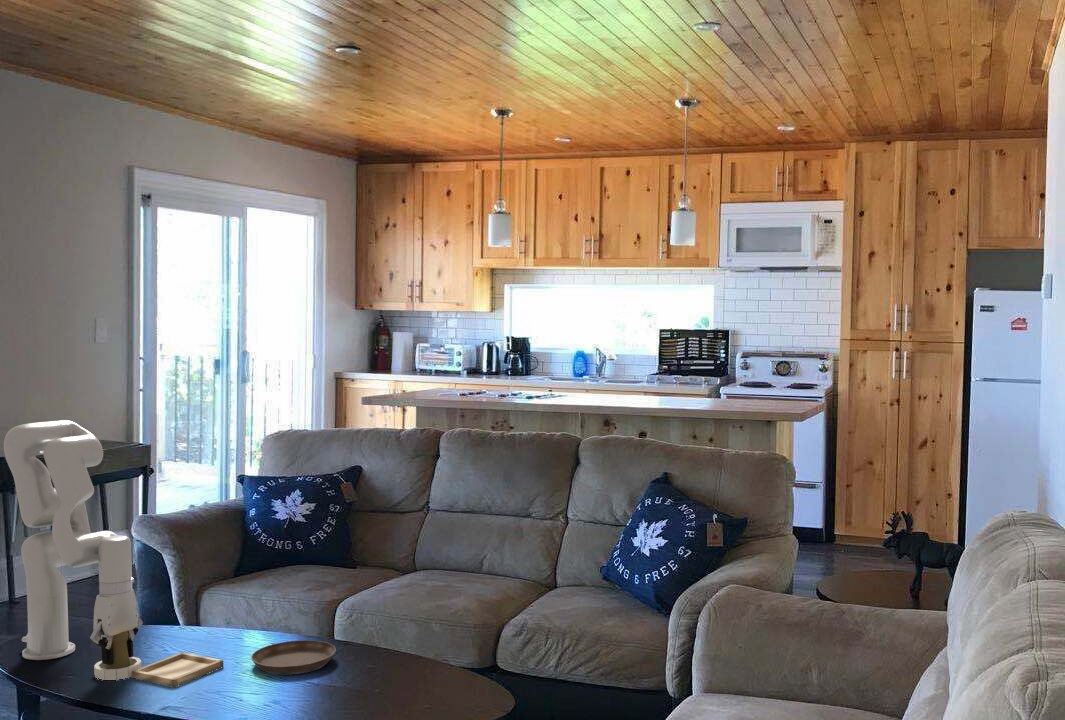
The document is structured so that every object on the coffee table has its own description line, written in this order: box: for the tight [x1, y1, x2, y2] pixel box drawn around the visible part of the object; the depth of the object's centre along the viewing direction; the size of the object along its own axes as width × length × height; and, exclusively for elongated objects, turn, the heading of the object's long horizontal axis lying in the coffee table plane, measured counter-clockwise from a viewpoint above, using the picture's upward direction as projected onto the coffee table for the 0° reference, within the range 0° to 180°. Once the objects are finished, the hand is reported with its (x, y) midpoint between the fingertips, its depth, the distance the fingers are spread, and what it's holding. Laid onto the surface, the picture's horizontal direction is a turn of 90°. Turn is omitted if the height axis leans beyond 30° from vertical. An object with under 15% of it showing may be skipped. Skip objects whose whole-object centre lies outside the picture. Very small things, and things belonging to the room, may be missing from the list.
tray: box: [131, 651, 224, 688], centre depth 266 cm, size 14×16×2 cm
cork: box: [105, 631, 130, 669], centre depth 266 cm, size 6×6×11 cm
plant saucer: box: [251, 639, 337, 676], centre depth 272 cm, size 21×21×3 cm
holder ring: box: [93, 656, 143, 681], centre depth 266 cm, size 10×10×2 cm
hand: (117, 659), depth 266 cm, fingers open, 5 cm apart
